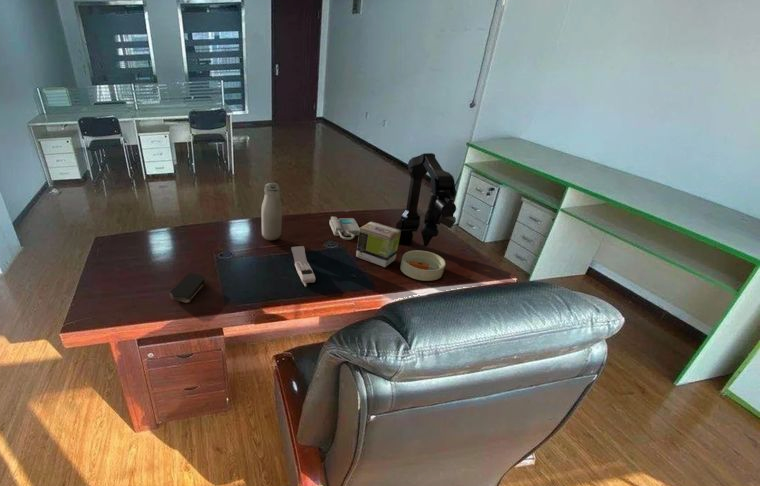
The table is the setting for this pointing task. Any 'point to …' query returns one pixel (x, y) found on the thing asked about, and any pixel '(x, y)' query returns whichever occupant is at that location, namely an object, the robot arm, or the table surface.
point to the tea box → (378, 243)
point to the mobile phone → (302, 265)
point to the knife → (421, 265)
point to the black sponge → (187, 287)
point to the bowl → (422, 257)
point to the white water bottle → (271, 212)
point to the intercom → (344, 227)
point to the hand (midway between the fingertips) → (426, 241)
